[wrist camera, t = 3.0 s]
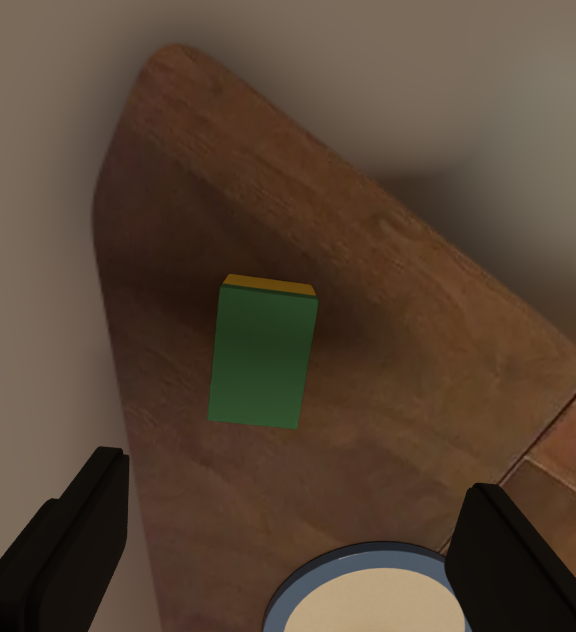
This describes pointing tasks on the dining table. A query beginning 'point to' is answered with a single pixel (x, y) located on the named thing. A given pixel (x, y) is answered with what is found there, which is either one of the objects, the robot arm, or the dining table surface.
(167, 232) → the dining table surface
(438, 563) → the plate
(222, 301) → the sponge
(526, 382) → the dining table surface
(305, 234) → the dining table surface
